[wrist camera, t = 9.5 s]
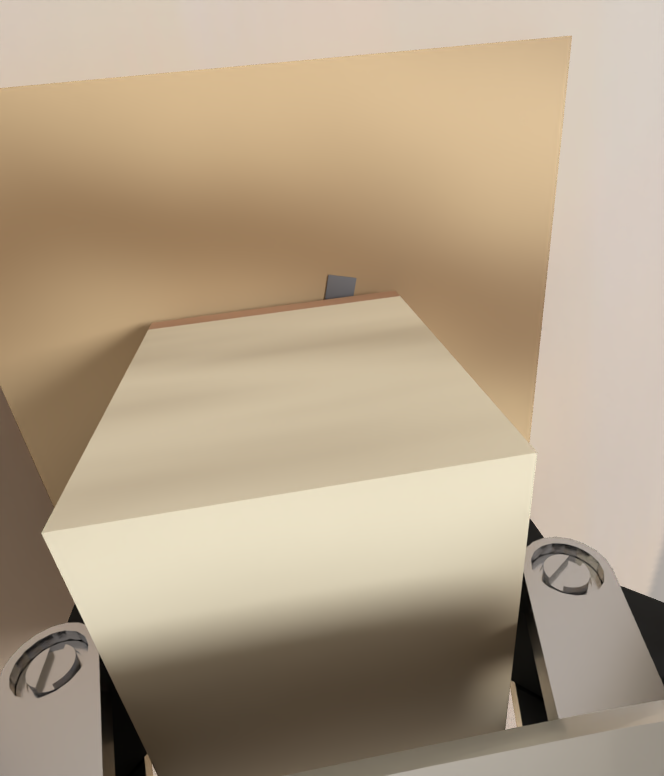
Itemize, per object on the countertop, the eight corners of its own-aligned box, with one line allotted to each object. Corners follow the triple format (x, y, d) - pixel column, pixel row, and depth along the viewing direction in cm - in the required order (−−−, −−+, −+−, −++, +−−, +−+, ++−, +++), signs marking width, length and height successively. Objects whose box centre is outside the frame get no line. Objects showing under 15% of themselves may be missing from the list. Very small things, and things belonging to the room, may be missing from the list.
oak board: (488, 704, 20) (499, 730, 19) (184, 765, 19) (180, 796, 18) (543, 44, 10) (573, 35, 9) (-90, 103, 9) (-128, 99, 8)
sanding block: (405, 565, 14) (494, 823, 9) (227, 597, 14) (210, 885, 9) (395, 290, 11) (536, 452, 5) (152, 322, 10) (40, 533, 5)
